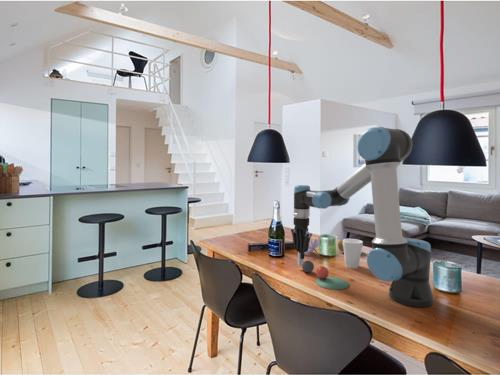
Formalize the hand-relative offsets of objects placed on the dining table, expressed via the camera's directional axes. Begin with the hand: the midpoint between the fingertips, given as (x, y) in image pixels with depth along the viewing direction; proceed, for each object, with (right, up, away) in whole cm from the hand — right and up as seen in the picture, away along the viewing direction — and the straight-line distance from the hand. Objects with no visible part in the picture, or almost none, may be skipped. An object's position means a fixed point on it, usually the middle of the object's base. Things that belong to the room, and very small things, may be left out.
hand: (300, 264), depth 151 cm
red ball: (+8, 0, -13) cm, 15 cm away
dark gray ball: (+3, 0, -5) cm, 6 cm away
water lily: (+10, 0, +25) cm, 27 cm away
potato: (+33, 0, +29) cm, 44 cm away
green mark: (+11, -3, -18) cm, 21 cm away
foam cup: (+27, -2, +4) cm, 27 cm away
